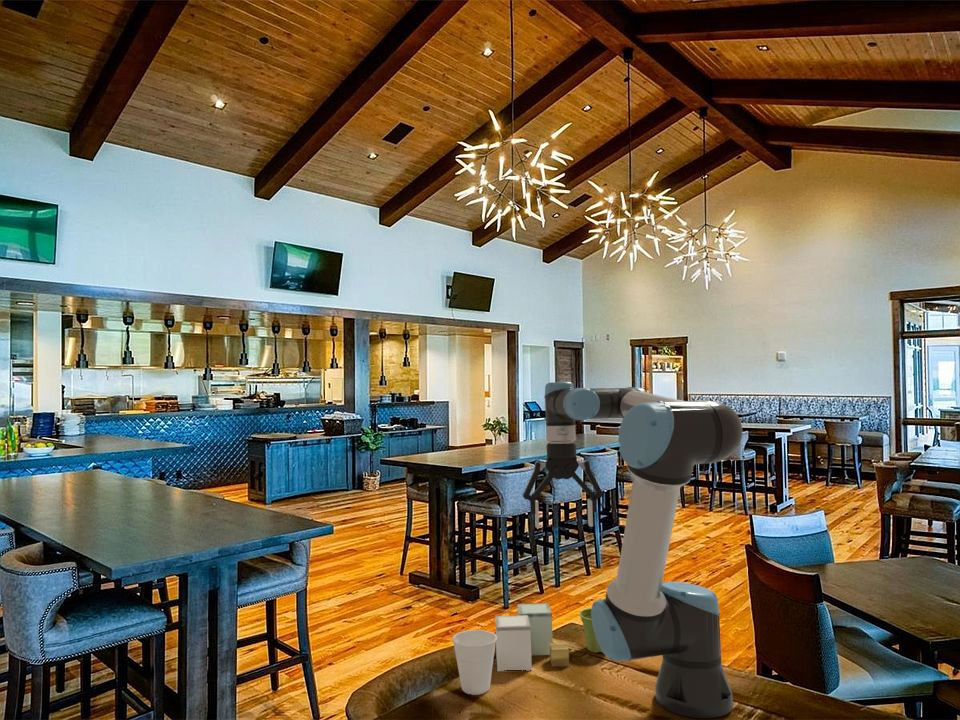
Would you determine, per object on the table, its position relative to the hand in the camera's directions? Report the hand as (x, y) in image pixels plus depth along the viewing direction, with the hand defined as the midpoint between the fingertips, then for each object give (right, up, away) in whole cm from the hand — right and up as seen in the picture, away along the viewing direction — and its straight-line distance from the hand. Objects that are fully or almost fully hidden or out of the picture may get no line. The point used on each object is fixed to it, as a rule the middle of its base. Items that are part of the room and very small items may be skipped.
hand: (563, 526), depth 160 cm
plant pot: (+9, -31, -1) cm, 32 cm away
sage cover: (-7, -31, 0) cm, 32 cm away
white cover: (-13, -30, -9) cm, 34 cm away
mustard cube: (-2, -30, -9) cm, 32 cm away
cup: (-22, -30, -22) cm, 43 cm away
